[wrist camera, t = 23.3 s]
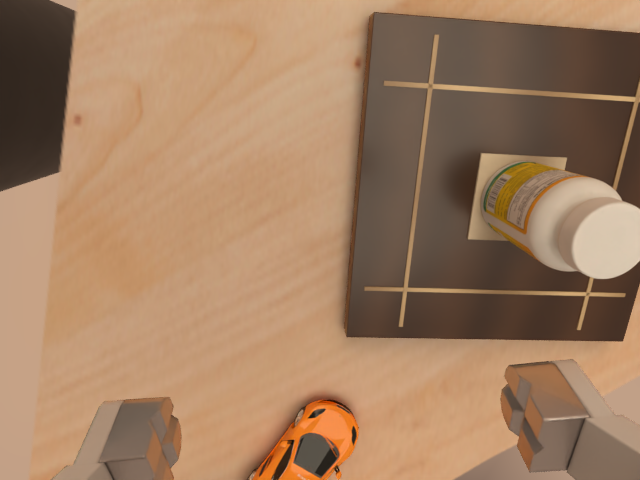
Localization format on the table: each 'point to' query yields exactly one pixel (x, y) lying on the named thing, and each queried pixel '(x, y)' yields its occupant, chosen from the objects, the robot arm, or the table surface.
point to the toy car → (312, 444)
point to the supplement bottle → (563, 219)
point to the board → (484, 175)
